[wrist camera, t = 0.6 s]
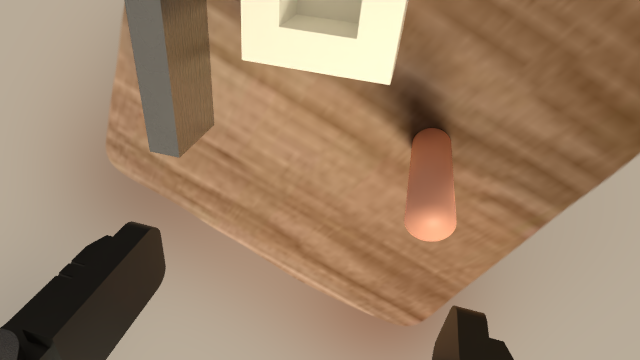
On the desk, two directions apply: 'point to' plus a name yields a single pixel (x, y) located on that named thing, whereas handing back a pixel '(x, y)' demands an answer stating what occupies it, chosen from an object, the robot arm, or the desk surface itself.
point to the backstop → (172, 71)
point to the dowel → (431, 187)
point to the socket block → (325, 36)
